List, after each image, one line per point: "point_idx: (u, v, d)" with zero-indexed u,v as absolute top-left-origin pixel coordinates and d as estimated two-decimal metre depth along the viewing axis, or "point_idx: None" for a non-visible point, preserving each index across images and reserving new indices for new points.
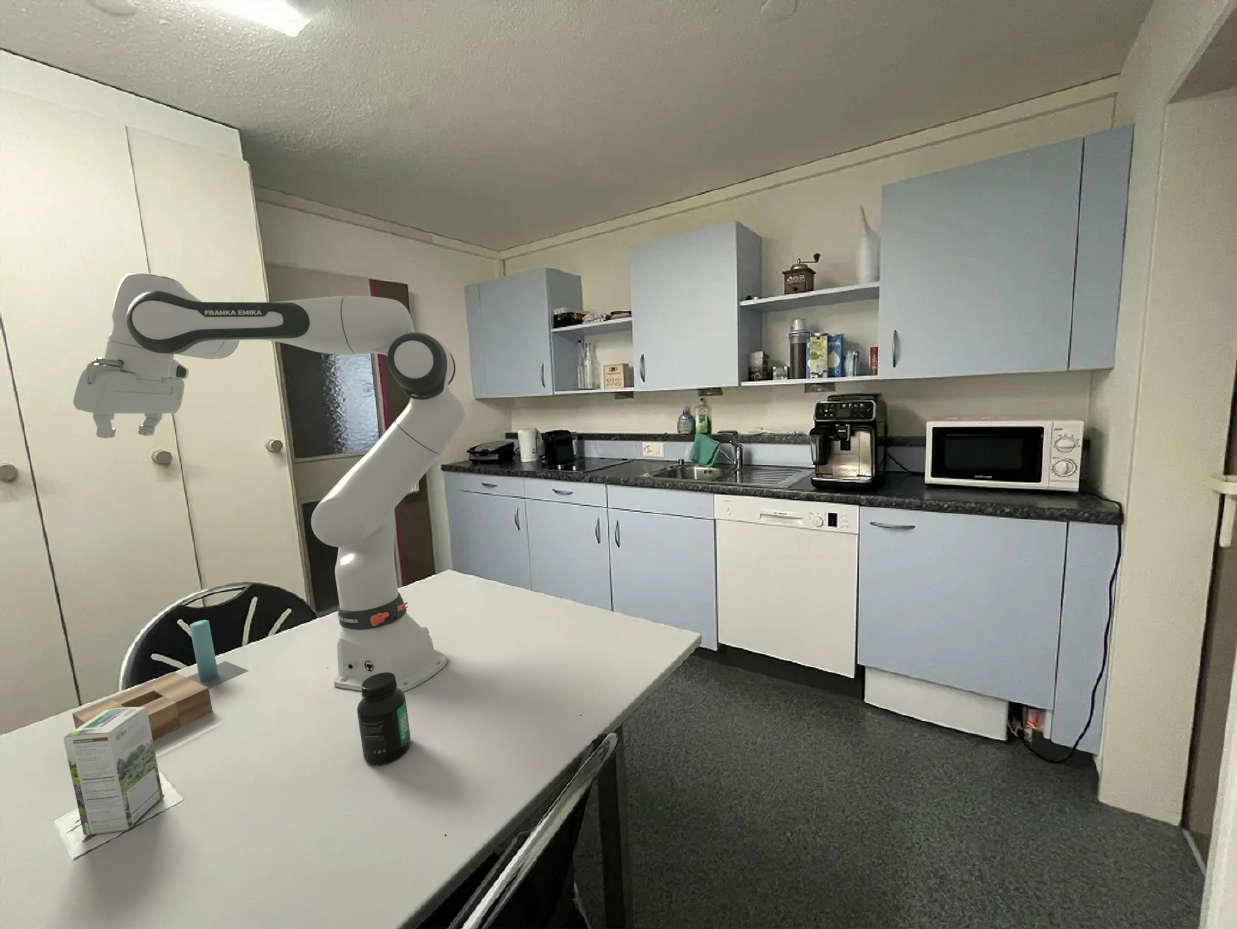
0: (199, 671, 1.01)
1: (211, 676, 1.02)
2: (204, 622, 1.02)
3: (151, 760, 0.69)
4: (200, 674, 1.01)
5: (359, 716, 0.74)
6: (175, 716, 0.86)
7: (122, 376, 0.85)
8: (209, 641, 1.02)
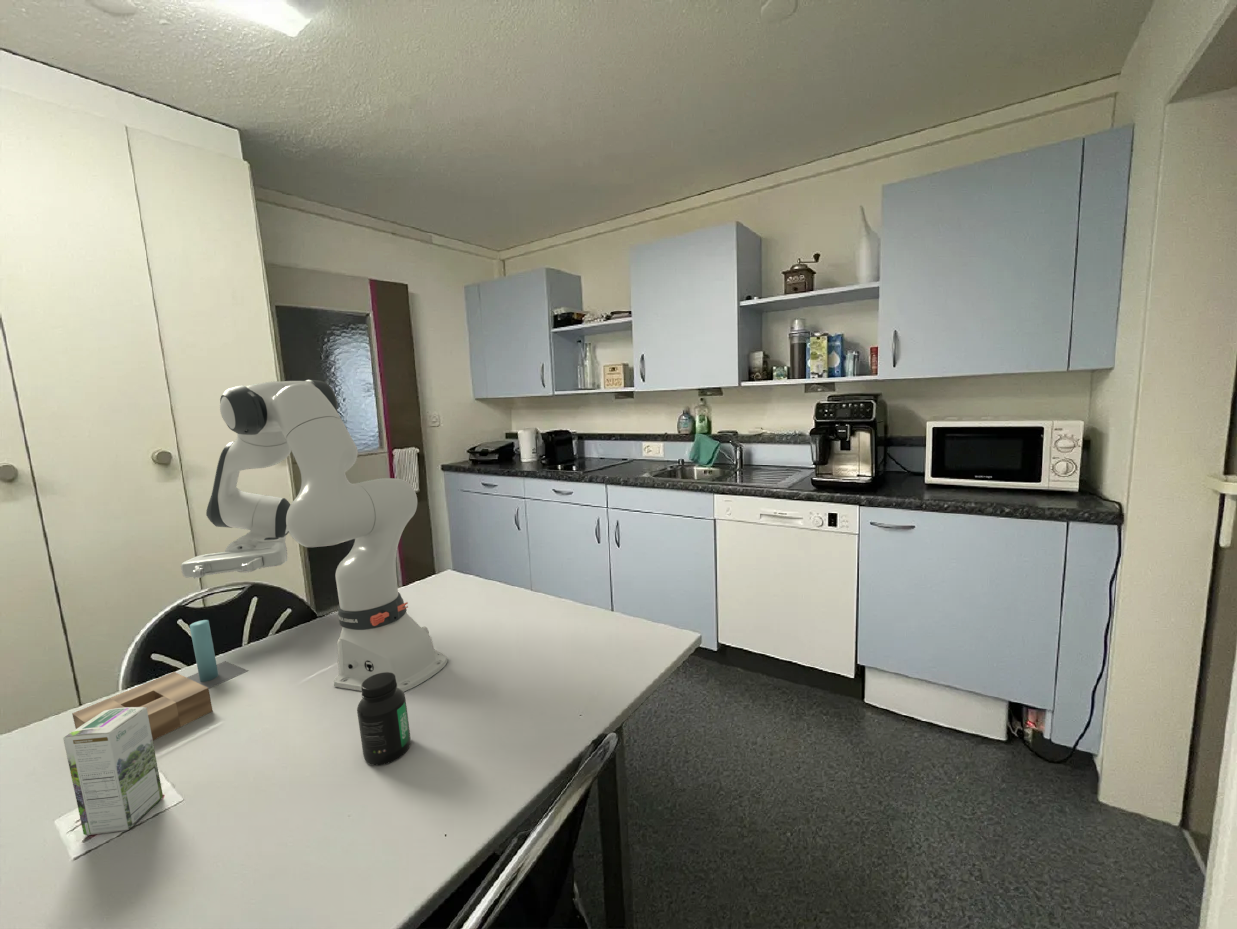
0: (199, 671, 1.01)
1: (211, 676, 1.02)
2: (204, 621, 1.02)
3: (151, 760, 0.69)
4: (200, 674, 1.01)
5: (359, 716, 0.74)
6: (175, 716, 0.86)
7: (213, 553, 1.21)
8: (209, 641, 1.02)
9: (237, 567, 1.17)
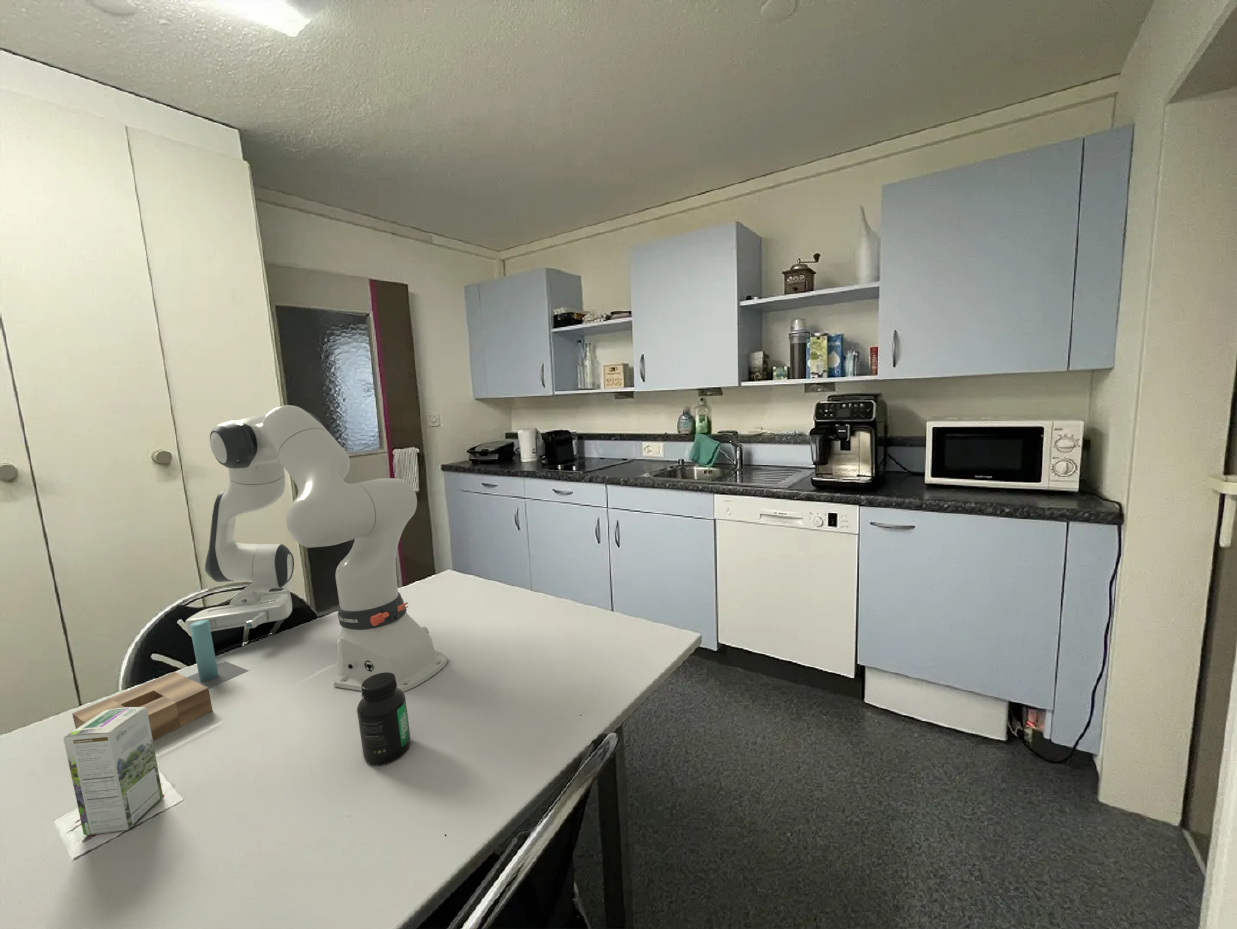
0: (199, 671, 1.01)
1: (211, 676, 1.02)
2: (204, 621, 1.02)
3: (151, 760, 0.69)
4: (200, 674, 1.01)
5: (359, 716, 0.74)
6: (175, 716, 0.86)
7: (218, 607, 1.20)
8: (209, 641, 1.02)
9: (242, 622, 1.16)
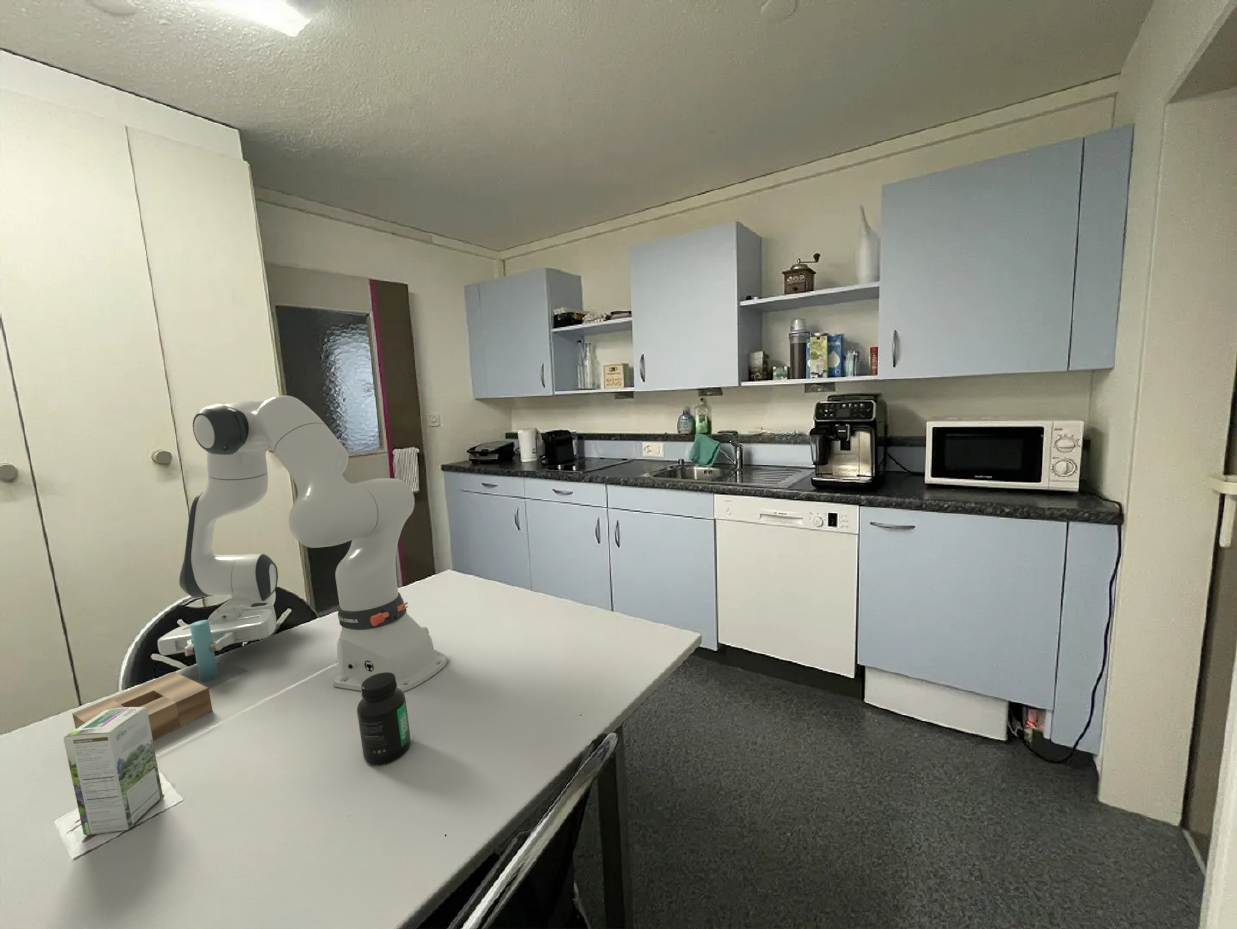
0: (199, 671, 1.01)
1: (211, 676, 1.02)
2: (204, 621, 1.02)
3: (151, 760, 0.69)
4: (200, 674, 1.01)
5: (359, 716, 0.74)
6: (175, 716, 0.86)
7: None
8: (209, 641, 1.02)
9: None
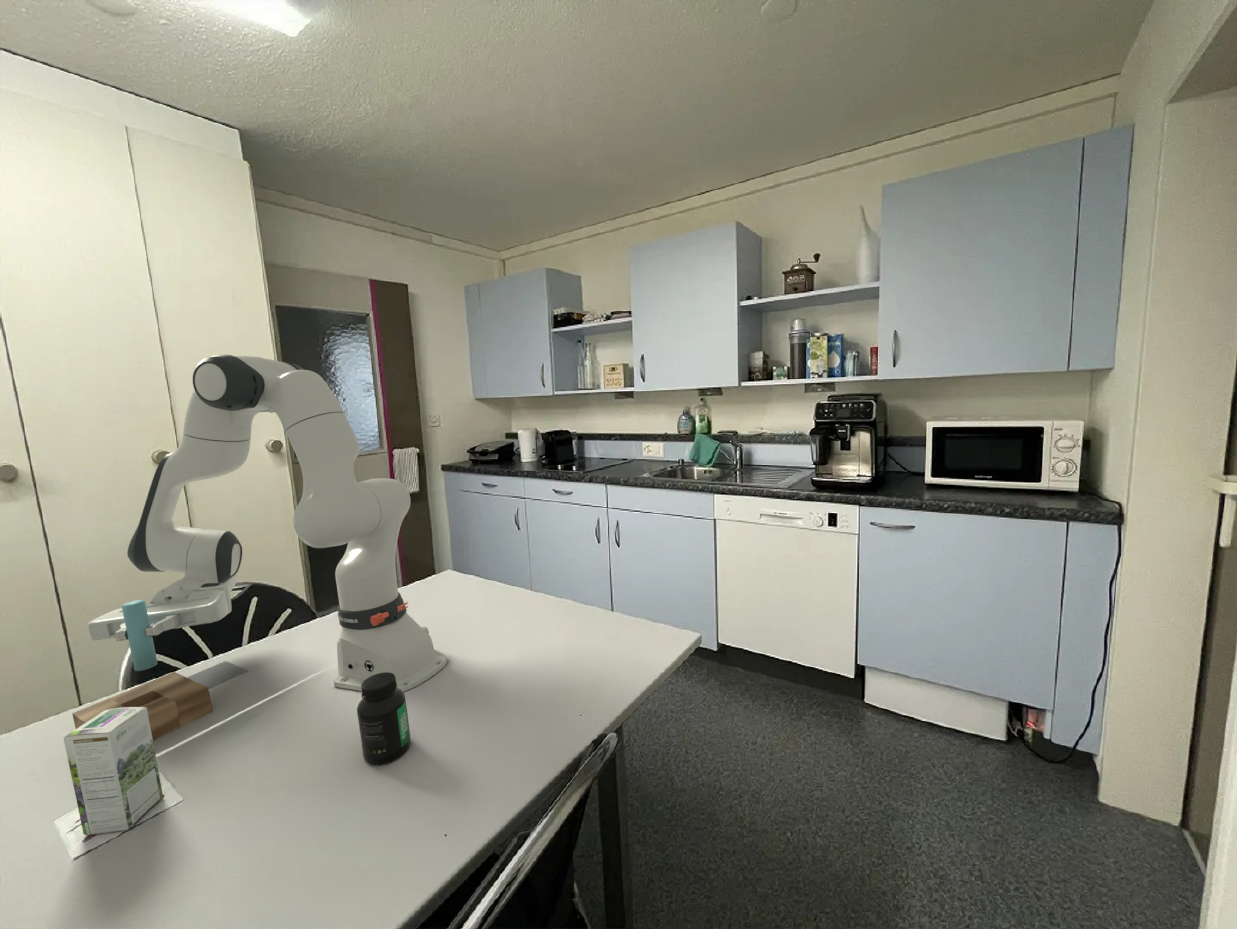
0: (133, 659, 0.87)
1: (147, 665, 0.88)
2: (139, 601, 0.88)
3: (151, 760, 0.69)
4: (134, 662, 0.87)
5: (359, 716, 0.74)
6: (175, 716, 0.86)
7: None
8: (145, 623, 0.88)
9: None
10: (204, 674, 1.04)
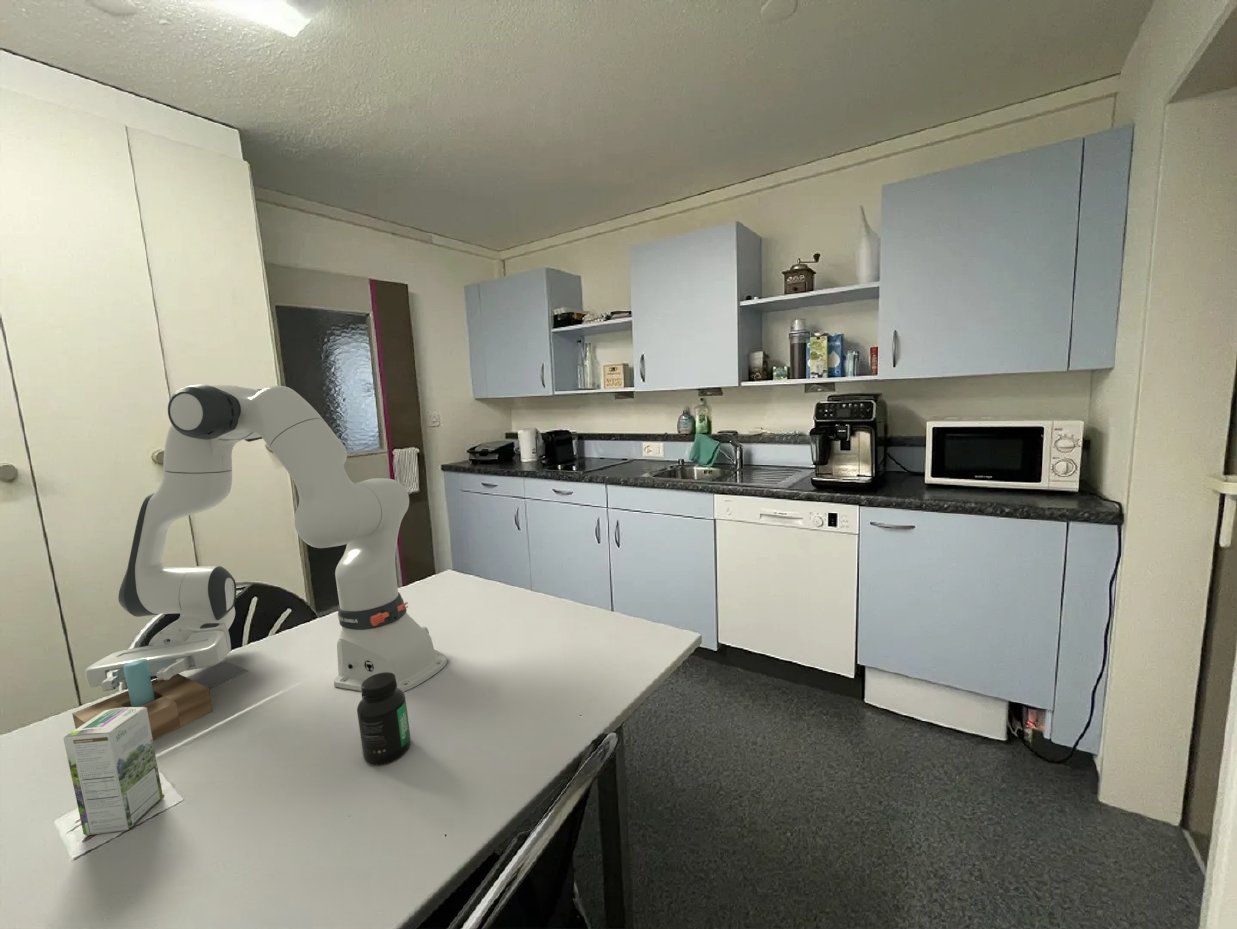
0: None
1: None
2: (141, 661, 0.87)
3: (151, 760, 0.69)
4: None
5: (359, 716, 0.74)
6: (175, 716, 0.86)
7: (133, 649, 0.95)
8: (147, 683, 0.87)
9: (160, 670, 0.92)
10: (204, 674, 1.04)
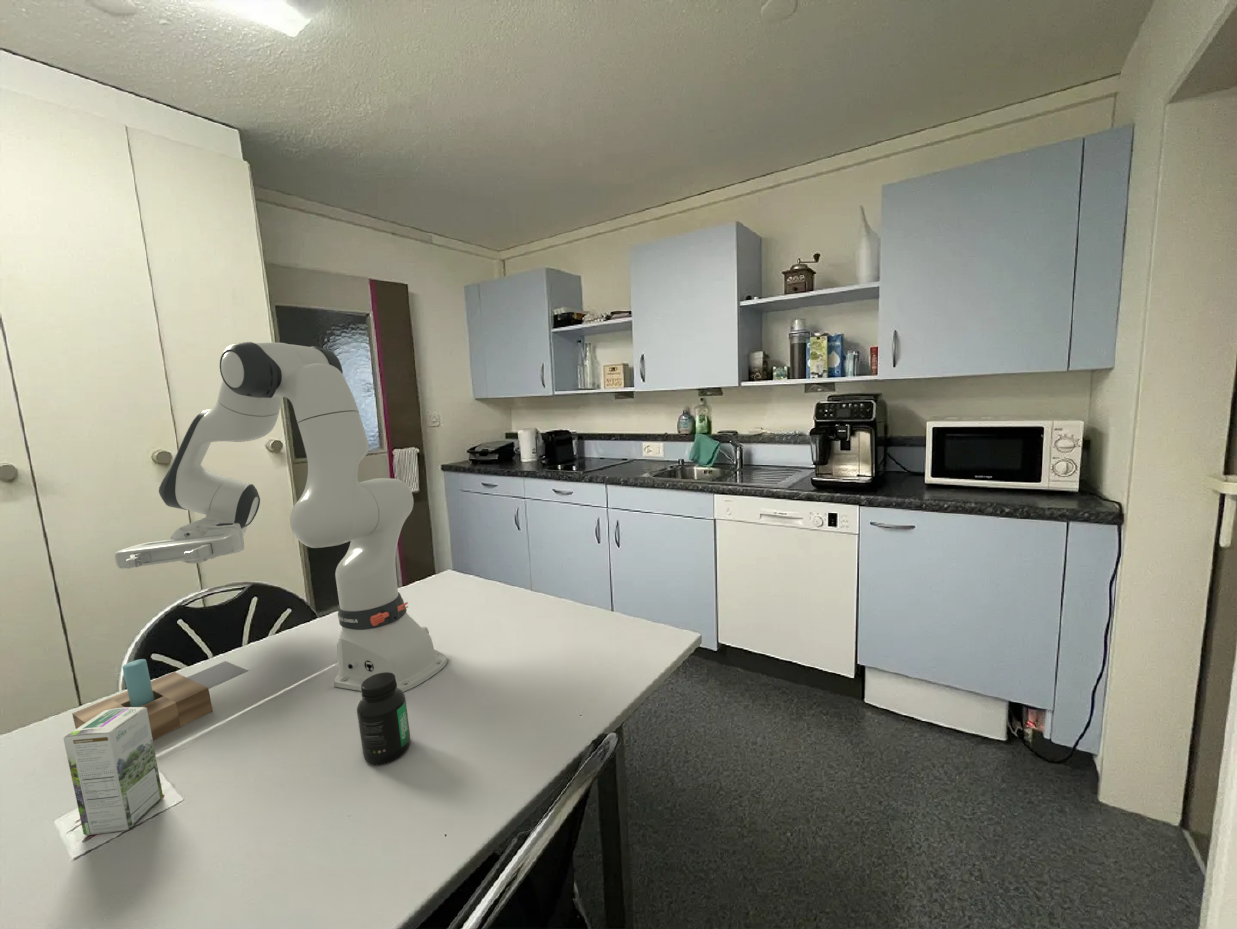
0: None
1: None
2: (140, 661, 0.87)
3: (151, 760, 0.69)
4: None
5: (359, 716, 0.74)
6: (175, 716, 0.86)
7: (156, 541, 1.05)
8: (146, 684, 0.87)
9: (182, 556, 1.02)
10: (204, 674, 1.04)
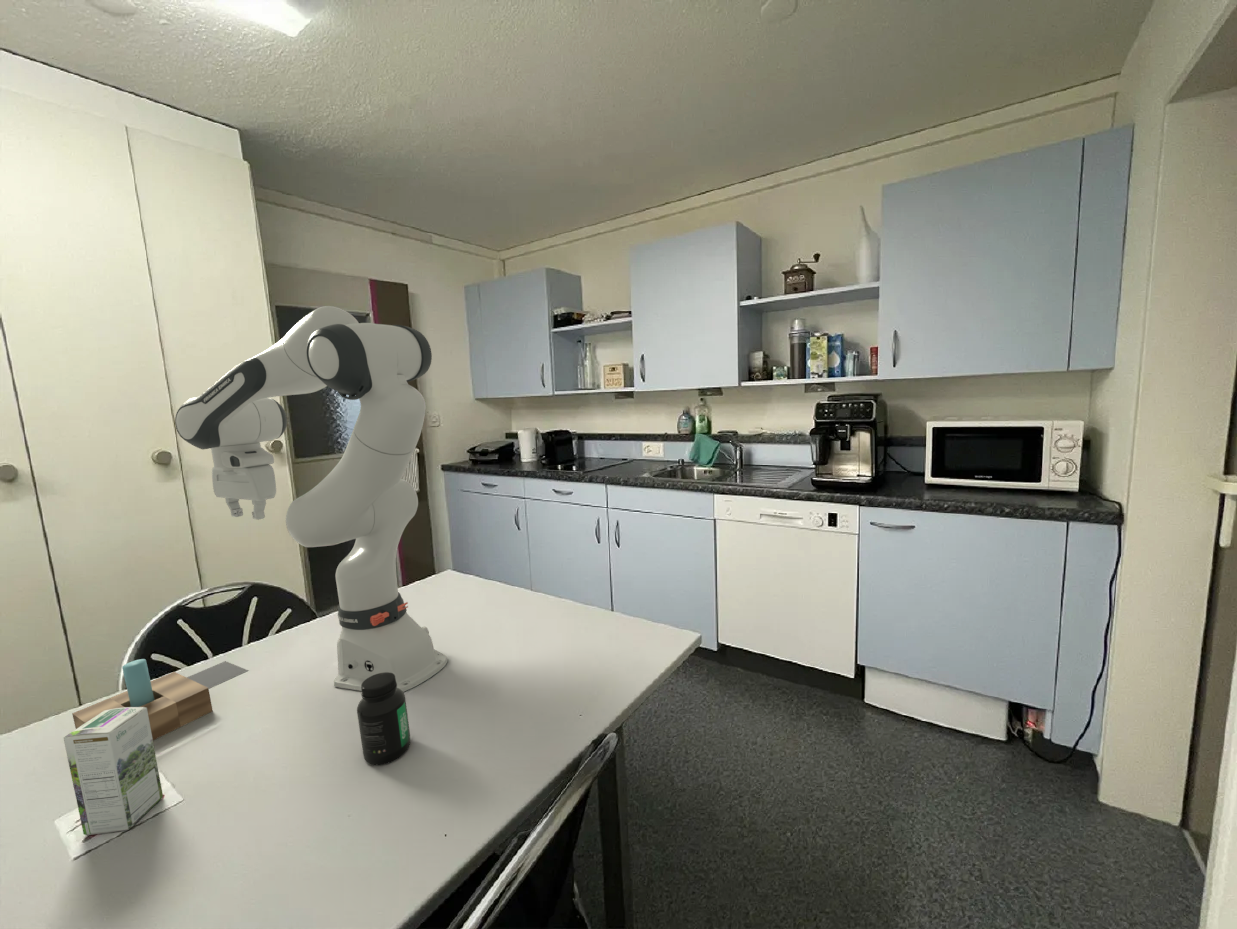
0: None
1: None
2: (140, 661, 0.87)
3: (151, 760, 0.69)
4: None
5: (359, 716, 0.74)
6: (175, 716, 0.86)
7: (217, 469, 1.12)
8: (146, 684, 0.87)
9: None
10: (204, 674, 1.04)
